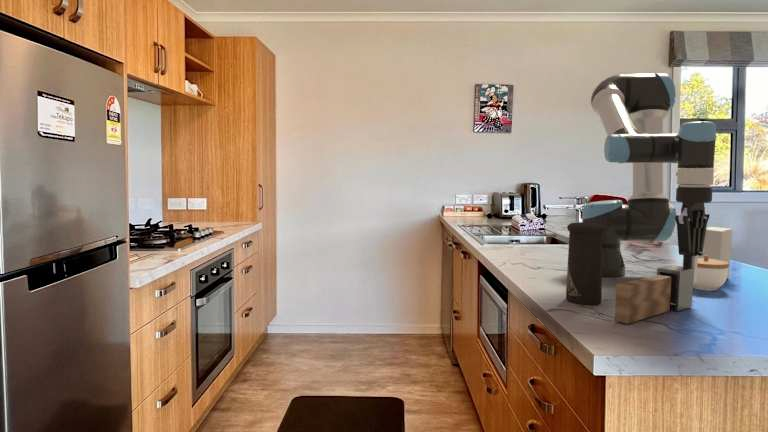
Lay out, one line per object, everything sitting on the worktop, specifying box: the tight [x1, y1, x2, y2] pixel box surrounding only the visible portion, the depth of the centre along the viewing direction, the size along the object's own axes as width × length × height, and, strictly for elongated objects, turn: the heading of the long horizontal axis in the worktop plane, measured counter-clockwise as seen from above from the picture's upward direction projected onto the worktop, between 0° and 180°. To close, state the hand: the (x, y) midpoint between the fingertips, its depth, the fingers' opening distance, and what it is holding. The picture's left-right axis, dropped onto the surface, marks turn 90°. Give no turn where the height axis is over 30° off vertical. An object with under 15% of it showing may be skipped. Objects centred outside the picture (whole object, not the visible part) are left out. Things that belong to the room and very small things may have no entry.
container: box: [565, 221, 606, 306], centre depth 126 cm, size 9×9×20 cm
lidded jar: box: [693, 255, 729, 292], centre depth 141 cm, size 11×11×9 cm
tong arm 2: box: [620, 276, 671, 325], centre depth 112 cm, size 18×1×8 cm, turn 125°
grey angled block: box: [656, 264, 694, 312], centre depth 121 cm, size 7×5×9 cm
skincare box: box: [697, 226, 733, 280], centre depth 154 cm, size 8×7×16 cm
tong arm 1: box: [614, 274, 663, 323], centre depth 113 cm, size 18×1×8 cm, turn 125°
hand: (689, 281), depth 125 cm, fingers closed
